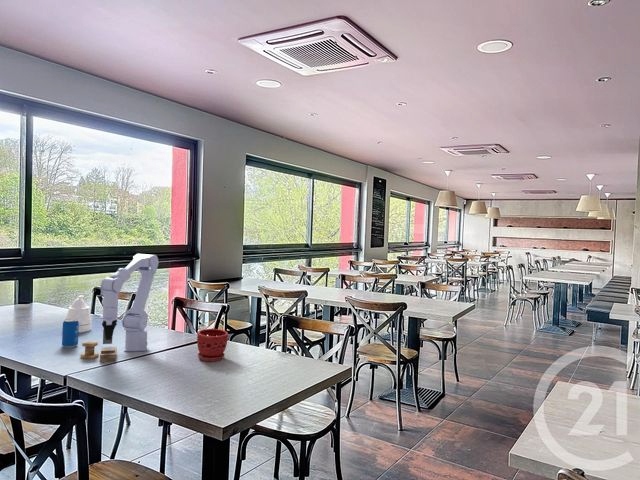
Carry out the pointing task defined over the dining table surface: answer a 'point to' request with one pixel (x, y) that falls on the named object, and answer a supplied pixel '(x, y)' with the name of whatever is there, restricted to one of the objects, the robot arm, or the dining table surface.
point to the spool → (89, 350)
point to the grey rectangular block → (105, 339)
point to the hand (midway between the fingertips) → (109, 338)
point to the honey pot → (80, 314)
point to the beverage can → (70, 333)
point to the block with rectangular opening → (108, 354)
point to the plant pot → (211, 344)
